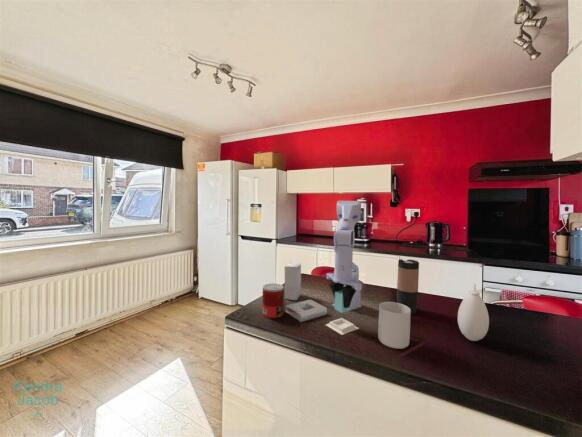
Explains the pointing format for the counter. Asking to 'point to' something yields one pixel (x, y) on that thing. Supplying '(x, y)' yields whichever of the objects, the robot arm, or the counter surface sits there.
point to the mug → (394, 325)
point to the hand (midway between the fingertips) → (342, 305)
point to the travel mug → (408, 283)
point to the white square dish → (342, 326)
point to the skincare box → (292, 281)
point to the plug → (340, 302)
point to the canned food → (273, 300)
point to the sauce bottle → (473, 316)
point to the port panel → (302, 314)
